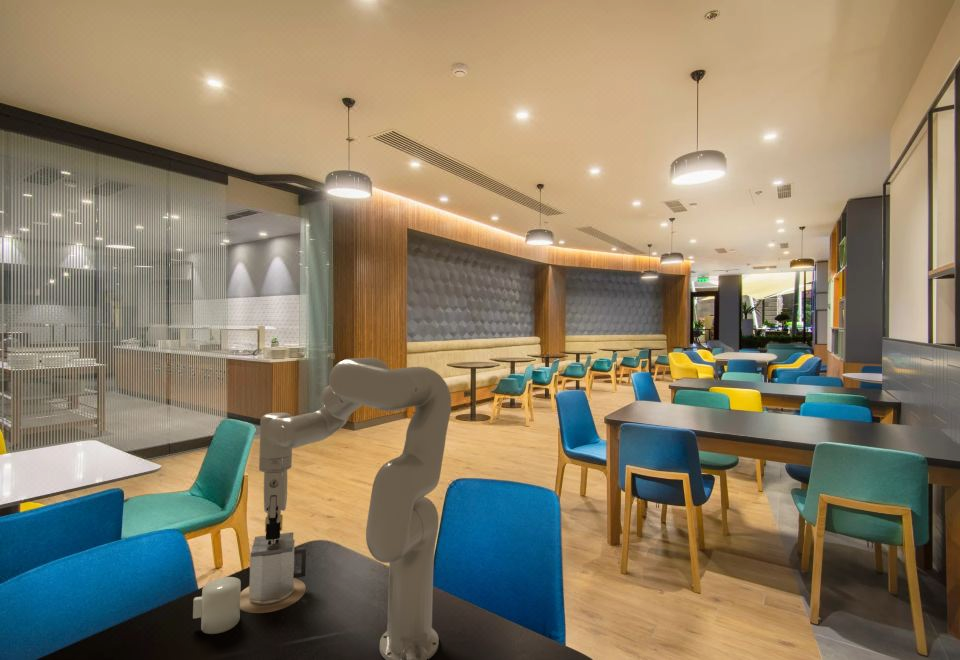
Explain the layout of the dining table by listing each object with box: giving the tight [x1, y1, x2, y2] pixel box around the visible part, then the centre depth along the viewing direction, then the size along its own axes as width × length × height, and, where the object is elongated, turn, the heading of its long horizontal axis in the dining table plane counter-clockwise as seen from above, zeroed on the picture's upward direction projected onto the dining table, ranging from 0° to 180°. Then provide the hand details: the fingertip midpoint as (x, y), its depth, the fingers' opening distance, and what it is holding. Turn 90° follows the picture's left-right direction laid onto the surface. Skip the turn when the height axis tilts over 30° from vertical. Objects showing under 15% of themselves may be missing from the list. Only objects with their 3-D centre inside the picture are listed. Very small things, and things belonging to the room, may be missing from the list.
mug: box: [192, 576, 242, 635], centre depth 104 cm, size 8×9×9 cm
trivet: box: [240, 578, 307, 614], centre depth 116 cm, size 16×16×1 cm
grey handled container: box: [248, 531, 307, 606], centre depth 117 cm, size 10×13×13 cm
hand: (273, 534), depth 116 cm, fingers closed on plunger, 4 cm apart
